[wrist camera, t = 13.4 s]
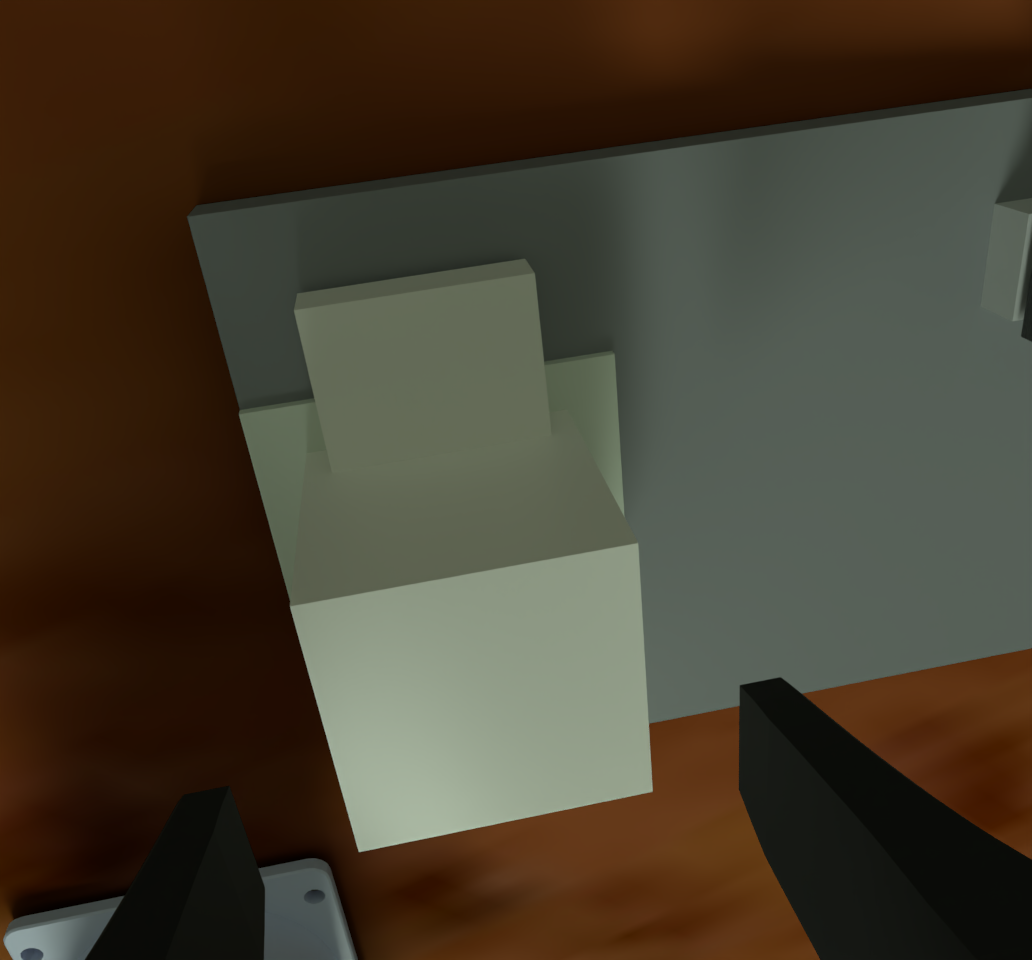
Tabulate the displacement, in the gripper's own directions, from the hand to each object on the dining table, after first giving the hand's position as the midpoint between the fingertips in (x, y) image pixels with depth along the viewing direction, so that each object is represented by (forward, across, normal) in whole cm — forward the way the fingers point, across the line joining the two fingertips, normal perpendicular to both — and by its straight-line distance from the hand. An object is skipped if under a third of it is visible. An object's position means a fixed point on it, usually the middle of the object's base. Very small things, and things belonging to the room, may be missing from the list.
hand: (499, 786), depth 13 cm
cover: (+6, 0, -2) cm, 7 cm away
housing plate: (+8, -7, -1) cm, 10 cm away
